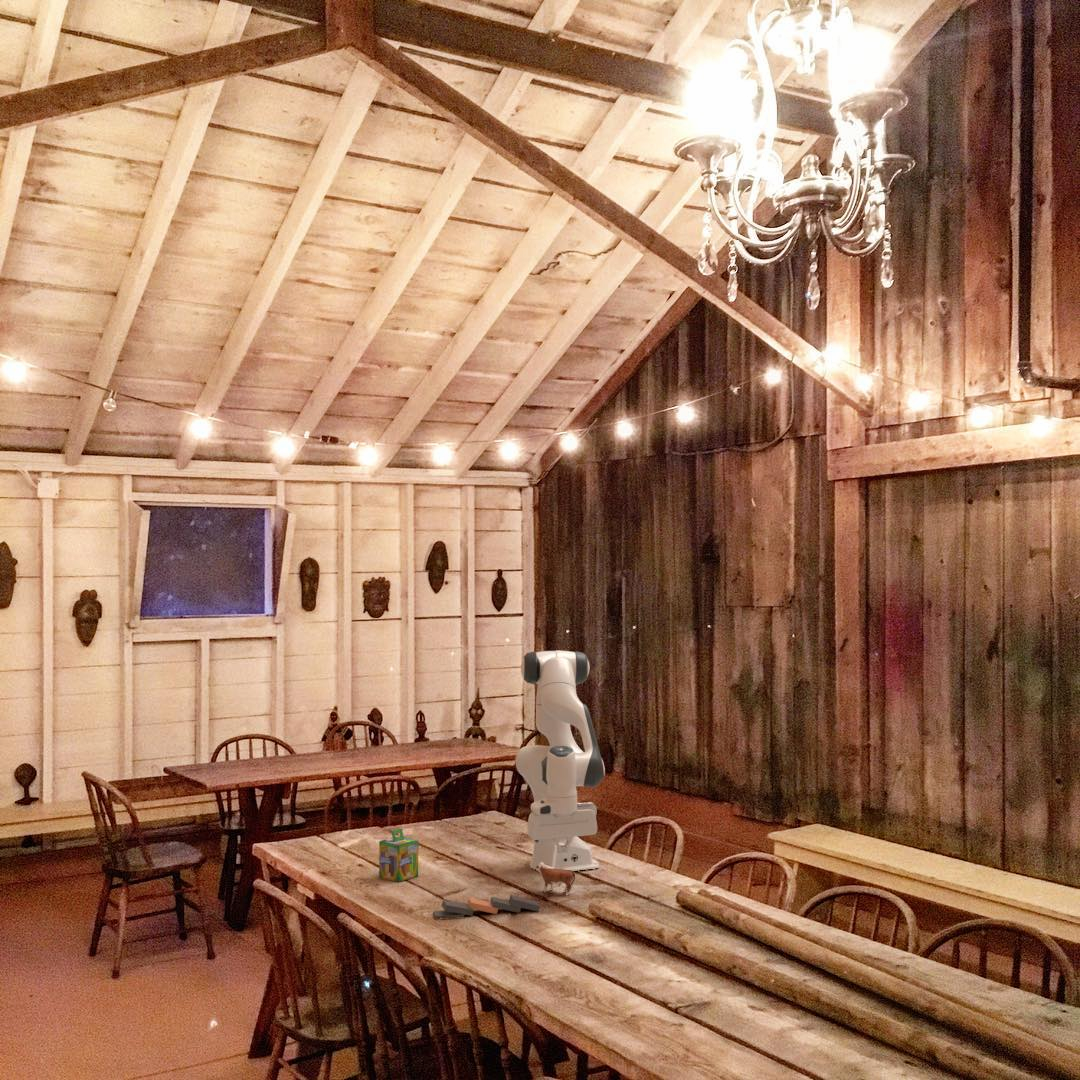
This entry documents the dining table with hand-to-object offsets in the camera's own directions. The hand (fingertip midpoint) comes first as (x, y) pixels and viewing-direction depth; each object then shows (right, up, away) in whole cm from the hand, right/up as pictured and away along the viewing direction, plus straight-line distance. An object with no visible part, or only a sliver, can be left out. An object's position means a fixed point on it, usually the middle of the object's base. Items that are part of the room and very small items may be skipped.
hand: (562, 852), depth 312 cm
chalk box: (-51, -17, +30) cm, 61 cm away
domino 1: (-28, -15, -9) cm, 33 cm away
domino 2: (-26, -14, -8) cm, 30 cm away
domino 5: (-7, -14, -3) cm, 16 cm away
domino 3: (-19, -14, -6) cm, 24 cm away
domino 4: (-13, -14, -4) cm, 20 cm away
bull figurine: (-2, -16, +14) cm, 21 cm away
